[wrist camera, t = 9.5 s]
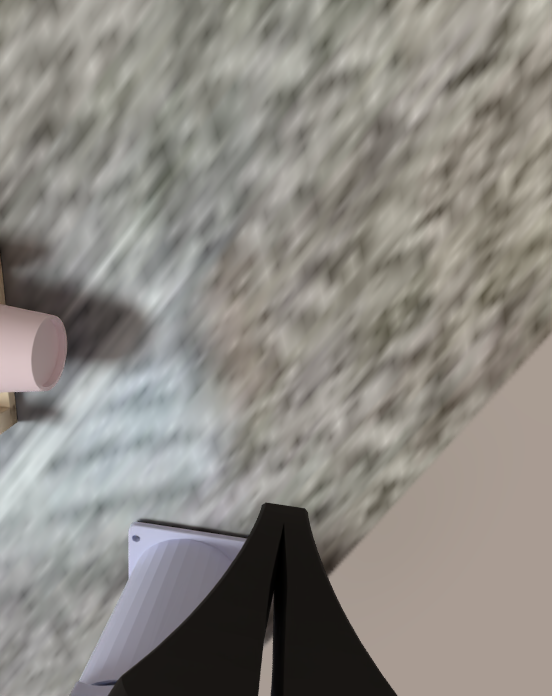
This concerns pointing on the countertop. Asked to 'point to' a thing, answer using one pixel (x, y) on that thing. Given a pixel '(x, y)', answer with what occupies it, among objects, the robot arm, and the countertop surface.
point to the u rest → (3, 405)
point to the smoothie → (30, 350)
